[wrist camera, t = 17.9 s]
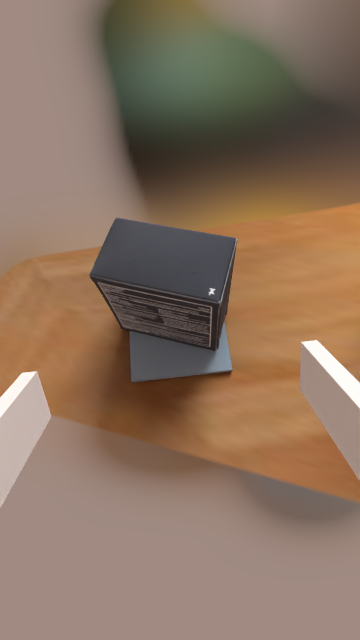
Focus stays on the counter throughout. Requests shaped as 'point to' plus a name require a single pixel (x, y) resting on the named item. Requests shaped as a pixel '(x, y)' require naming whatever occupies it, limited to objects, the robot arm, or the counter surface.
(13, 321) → the counter surface
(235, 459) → the counter surface
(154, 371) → the mat
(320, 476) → the counter surface
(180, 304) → the small box
